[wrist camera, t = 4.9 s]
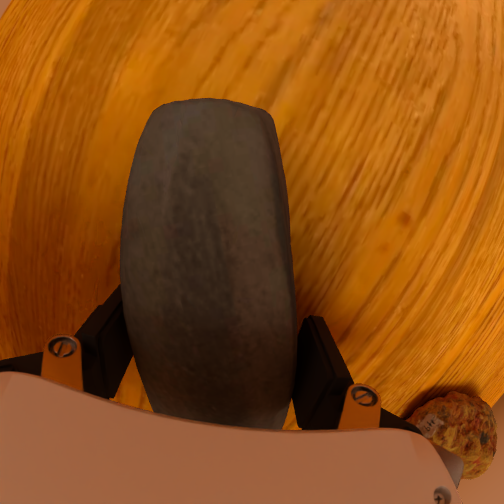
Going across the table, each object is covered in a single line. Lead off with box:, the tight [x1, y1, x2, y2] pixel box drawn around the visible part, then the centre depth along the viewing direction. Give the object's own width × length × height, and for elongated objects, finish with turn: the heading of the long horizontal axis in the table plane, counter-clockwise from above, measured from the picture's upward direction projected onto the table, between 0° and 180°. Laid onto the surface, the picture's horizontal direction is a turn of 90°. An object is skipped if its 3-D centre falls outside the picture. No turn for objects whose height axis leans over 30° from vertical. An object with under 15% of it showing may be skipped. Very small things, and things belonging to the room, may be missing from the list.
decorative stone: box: [120, 98, 298, 430], centre depth 10 cm, size 17×6×4 cm, turn 179°
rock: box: [405, 391, 497, 479], centre depth 14 cm, size 11×8×10 cm
